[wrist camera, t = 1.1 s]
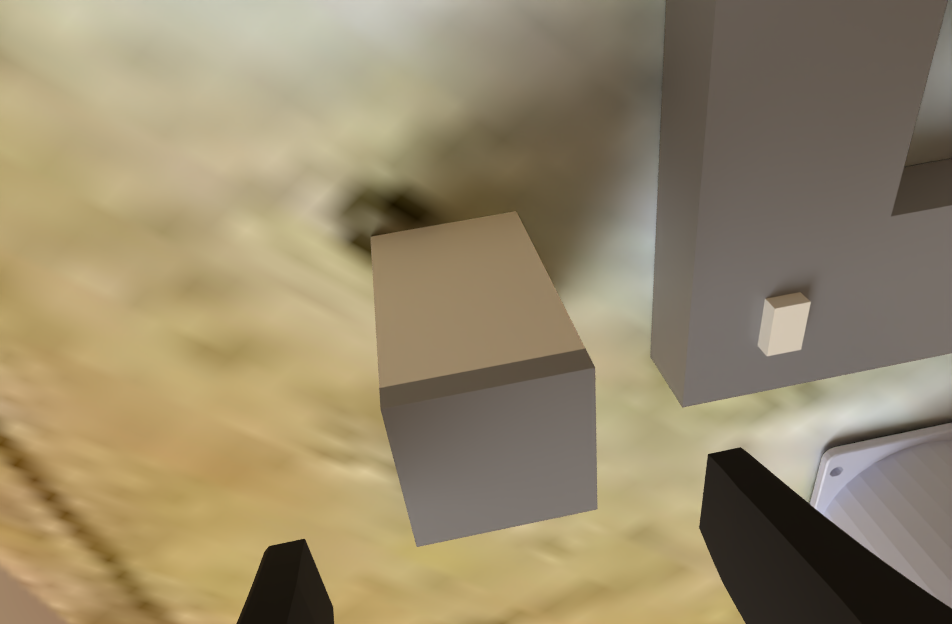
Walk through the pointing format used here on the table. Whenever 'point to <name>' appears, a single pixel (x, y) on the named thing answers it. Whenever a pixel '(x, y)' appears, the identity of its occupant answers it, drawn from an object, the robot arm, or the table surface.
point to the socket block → (796, 195)
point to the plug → (481, 380)
